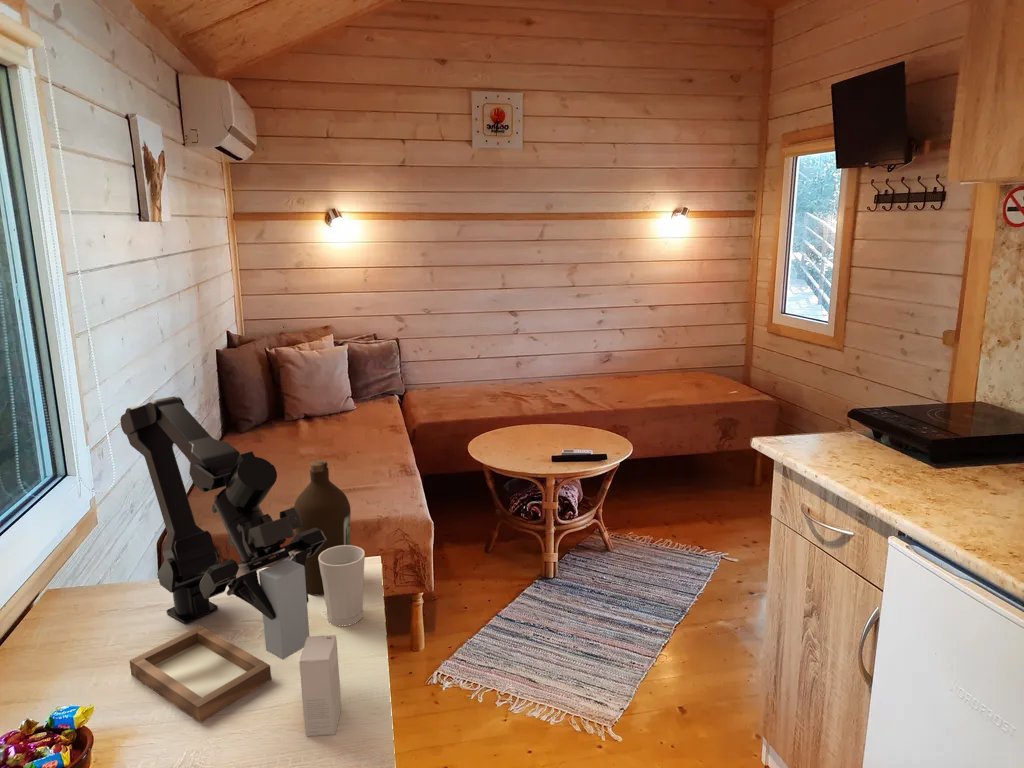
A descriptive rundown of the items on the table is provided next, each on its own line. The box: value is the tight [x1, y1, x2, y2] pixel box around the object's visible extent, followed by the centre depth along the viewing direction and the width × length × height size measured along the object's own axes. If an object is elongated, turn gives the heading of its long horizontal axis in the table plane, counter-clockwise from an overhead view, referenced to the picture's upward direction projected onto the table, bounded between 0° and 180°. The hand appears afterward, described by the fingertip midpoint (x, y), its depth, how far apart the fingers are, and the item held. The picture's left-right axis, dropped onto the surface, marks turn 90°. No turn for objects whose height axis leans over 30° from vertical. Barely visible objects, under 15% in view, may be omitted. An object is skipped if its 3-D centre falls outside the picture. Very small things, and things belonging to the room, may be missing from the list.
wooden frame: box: [129, 625, 272, 723], centre depth 112 cm, size 19×12×2 cm, turn 54°
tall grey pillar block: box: [258, 559, 310, 660], centre depth 108 cm, size 4×5×13 cm
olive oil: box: [293, 459, 352, 596], centre depth 138 cm, size 11×11×25 cm
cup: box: [318, 544, 366, 627], centre depth 128 cm, size 8×8×12 cm
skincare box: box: [298, 634, 342, 737], centre depth 101 cm, size 6×4×12 cm
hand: (290, 610), depth 107 cm, fingers closed on tall grey pillar block, 5 cm apart
